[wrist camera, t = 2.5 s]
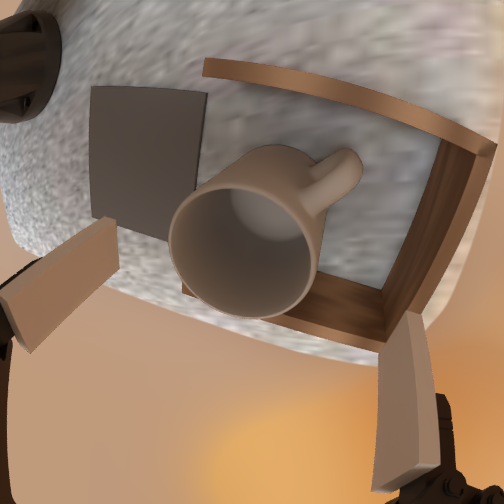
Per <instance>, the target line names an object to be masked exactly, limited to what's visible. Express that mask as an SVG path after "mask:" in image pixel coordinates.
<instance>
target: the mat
mask: <svg viewBox="0 0 504 504" xmlns="http://www.w3.org/2000/svg"><path fill="white" fill-rule="evenodd" d="M207 95H208V93H204V92H196V91H187V90H176V89H164V88H148V87H123V86H93V87H91V97H90V117H89V175H90V196H91V210H92V217H93V218H96V219H101V218H102V217H104V216H105V217H108V218H111V219H115V220H116V224H117V226H120V227H124V228H127V229H130V230H133V231H136V232H139V233H142V234H145V235H148V236H151V237H154V238H158V239H161V240H164V241H167V242H168V235H169V229H170V224H171V221H172V218H173V216H174V214H175V212H176V210H177V209H178V207H179V206H180V204H181V203H182V202H183V201H184V200H185V199H186V198H187V197H188V196H189V195H190V194H191V193H192V192H194V191H195V190H196V182H197V172H198V163H199V155H200V146H201V138H202V130H203V123H204V116H205V108H206V101H207Z"/></svg>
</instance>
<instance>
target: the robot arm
mask: <svg viewBox="0 0 504 504" xmlns="http://www.w3.org/2000/svg"><path fill="white" fill-rule="evenodd" d="M60 56H61V39H60V32H59V28H58V25H57V23H56V20H55V19H54V17H53V16H52V15H51V14H50V13H48V12H46V11H24V12H21V13H18V14H16V15H13V16H10V17H8V18H6V19H3V20H1V21H0V123H11V124H13V123H19V122H23V121H26V120H29V119H32V118H34V117H35V116H36V115H38V114H39V113H40V112H41V111H42V109H43V108H44V106H45V105H46V103H47V102H48V100H49V98H50V96H51V93H52V91H53V88H54V85H55V82H56V79H57V75H58V70H59V65H60ZM119 269H120V267H119V255H118V241H117V224H116V220H115V219H111V218H108V217H105V216H104V217H102V218H101V219H99V220H97V221H96V222H94V223H93V224H91V225H90V226H88V227H87V228H85V229H84V230H82V231H80V232H79V233H77V234H76V235H74V236H73V237H72V238H70V239H69V240H67V241H66V242H64V243H63V244H61V245H60V246H58V247H57V248H55V249H54V250H53V251H51V252H50V253H48V254H47V255H46V256H44V257H41V258H39V259H36V260H34V261H32V262H30V263H29V264H28V265H26V266H25V267H24V268H23V269H21V270H20V271H18V272H17V274H14V275H13V276H12V277H10V278H9V279H8V280H7V281H5V282H4V283H3V284H1V285H0V504H16V503H15V501H14V500H13V498H12V494H11V487H10V479H9V469H8V456H7V455H8V454H7V398H8V382H9V372H10V362H11V354H12V347H13V343H12V340H11V338H12V337H13V336H14V335H15V337H16V339H17V341H18V343H19V345H20V346H21V347H22V348H24V349H25V350H26V351H27V352H29V353H30V354H31V353H32V352H33V351H34V350H35V349H36V348H37V347H38V346H39V345H40V344H41V342H42V341H44V340H45V339H46V338H47V336H49V335H50V334H51V332H52V331H54V330H55V328H57V326H58V325H60V324H61V323H62V322H63V321H64V320H65V319H66V318H67V317H68V316H69V315H70V314H71V313H72V312H73V311H74V310H75V309H76V308H77V307H78V306H79V305H80V304H81V303H82V302H83V301H85V300H86V299H87V298H88V297H89V296H90V295H91V294H92V293H93V292H94V291H95V290H96V289H98V287H100V286H101V285H102V284H103V283H104V282H105V281H106V280H107V279H109V278H110V277H111V276H112V275H113V274H114V273H115V272H116V271H117V270H119ZM378 368H379V369H378V371H379V373H378V374H379V375H378V377H379V378H378V417H377V435H376V448H375V460H374V470H373V479H372V487H371V492H377V493H392V492H394V491H396V490H398V489H400V494H399V497H397V498H395V499H393V500H390V501H388V502H387V503H385V504H504V491H503V489H501V488H500V487H499V486H496V485H493V486H489V487H488V488H486V489H484V490H480V489H477V488H474V487H472V486H469V485H467V483H466V479H465V477H464V476H463V474H462V473H461V472H459V471H458V470H456V463H455V446H454V435H453V431H452V430H453V424H452V421H451V420H452V417H451V408H450V405H449V403H448V401H447V399H446V397H445V395H444V394H438V393H435V388H434V380H433V374H432V368H431V362H430V355H429V350H428V344H427V339H426V334H425V329H424V324H423V320H422V315H420V314H417V313H414V312H410V311H407V310H406V311H405V313H404V314H403V316H402V318H401V320H400V321H399V323H398V325H397V326H396V328H395V329H394V331H393V333H392V334H391V336H390V337H389V339H388V341H387V342H386V344H385V345H384V347H383V348H382V350H381V351H380V353H379V354H378Z"/></svg>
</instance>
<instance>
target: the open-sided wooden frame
mask: <svg viewBox="0 0 504 504" xmlns="http://www.w3.org/2000/svg"><path fill="white" fill-rule="evenodd" d="M202 76H203V77H212V78H221V79H229V80H236V81H243V82H250V83H256V84H262V85H267V86H273V87H278V88H283V89H288V90H293V91H297V92H302V93H306V94H310V95H315V96H319V97H323V98H326V99H330V100H334V101H338V102H341V103H345V104H348V105H352V106H355V107H358V108H362V109H365V110H368V111H371V112H374V113H377V114H380V115H383V116H386V117H389V118H392V119H395V120H397V121H400V122H403V123H406V124H408V125H411V126H413V127H416V128H419V129H421V130H424V131H426V132H428V133H431V134H433V135H436V136H438V137H440V138H442V139H441V143H440V146H439V149H438V153H437V156H436V159H435V162H434V165H433V168H432V171H431V174H430V177H429V180H428V183H427V185H426V188H425V191H424V194H423V196H422V199H421V202H420V204H419V207H418V209H417V212H416V215H415V217H414V220H413V222H412V225H411V227H410V229H409V232H408V234H407V236H406V239H405V241H404V243H403V246H402V248H401V250H400V253H399V255H398V257H397V259H396V261H395V264H394V266H393V268H392V270H391V272H390V274H389V276H388V278H387V280H386V282H385V285H384V287H383V289H382V290H378V289H375V288H372V287H368V286H365V285H362V284H358V283H355V282H352V281H348V280H345V279H342V278H338V277H335V276H332V275H328V274H325V273H322V272H318V271H317V272H316V275H315V278H314V281H313V284H312V286H311V288H310V289H309V291H308V293H307V294H306V295H305V297H304V298H303V299H302V300H301V301H300V302H299V303H298V304H297V305H296V306H295V307H293V308H292V309H290V310H289V311H287V312H285V313H283V314H280V315H277V316H274V317H270V318H265V319H261V320H264V321H267V322H270V323H273V324H277V325H280V326H283V327H286V328H290V329H293V330H296V331H300V332H303V333H307V334H310V335H313V336H317V337H320V338H324V339H328V340H331V341H335V342H338V343H342V344H346V345H350V346H353V347H357V348H361V349H365V350H369V351H373V352H377V353H380V351H381V350H382V348H383V347H384V345H385V344H386V342H387V341H388V339H389V337H390V336H391V334H392V333H393V331H394V329H395V328H396V326H397V325H398V323H399V321H400V320H401V318H402V316H403V314H404V313H405V311H406V310H407V311H410V312H414V313H417V314H420V315H421V313H422V311H423V310H424V308H425V306H426V305H427V303H428V301H429V300H430V298H431V296H432V295H433V293H434V291H435V289H436V287H437V286H438V284H439V282H440V280H441V278H442V277H443V275H444V273H445V271H446V269H447V267H448V265H449V263H450V261H451V259H452V257H453V255H454V253H455V251H456V249H457V247H458V245H459V243H460V241H461V239H462V237H463V235H464V232H465V230H466V228H467V226H468V224H469V221H470V219H471V217H472V214H473V212H474V210H475V207H476V205H477V202H478V200H479V197H480V195H481V192H482V189H483V187H484V184H485V181H486V178H487V176H488V173H489V170H490V167H491V164H492V161H493V158H494V155H495V151H496V148H497V145H498V144H496V143H494V142H493V141H491V140H489V139H487V138H485V137H483V136H481V135H480V134H478V133H476V132H474V131H472V130H470V129H468V128H466V127H464V126H462V125H460V124H458V123H455V122H453V121H451V120H449V119H447V118H445V117H442V116H440V115H438V114H435V113H433V112H431V111H428V110H426V109H424V108H421V107H419V106H416V105H413V104H411V103H408V102H406V101H403V100H400V99H397V98H395V97H392V96H389V95H386V94H383V93H380V92H377V91H374V90H371V89H368V88H365V87H361V86H358V85H354V84H351V83H347V82H344V81H340V80H336V79H333V78H329V77H325V76H320V75H316V74H312V73H307V72H303V71H298V70H293V69H288V68H282V67H277V66H271V65H265V64H258V63H251V62H244V61H235V60H226V59H216V58H205V61H204V67H203V73H202ZM182 293H184V294H186V295H189V296H192V297H195V298H197V297H196V296H195V295H194V294H193V293H192V292H191V291H190V290H189V289H188V288H187V287H186V285H185V284H184V283H183V282H182Z"/></svg>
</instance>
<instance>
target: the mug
mask: <svg viewBox="0 0 504 504" xmlns="http://www.w3.org/2000/svg"><path fill="white" fill-rule="evenodd" d="M362 173H363V165H362V162H361V160H360V158H359V156H358V155H357V153H356V152H354V151H353V150H351V149H348V148H344V149H341V150H339V151H337V152H335V153H333V154H332V155H330V156H328V157H327V158H325V159H324V160H322V161H321V162H319V163H318V164H316V163H315V162H314V161H313V160H312V159H311V158H310V157H308V156H307V155H306V154H304V153H302V152H301V151H299V150H297V149H294V148H291V147H288V146H283V145H268V146H263V147H259V148H256V149H254V150H252V151H250V152H248V153H247V154H245V155H244V156H243V157H241V158H240V159H239V160H237V161H236V162H235V163H233V164H232V165H230V166H229V167H227V168H226V169H225V170H223V171H222V172H220V173H219V174H217V175H216V176H215V177H213V178H212V179H210V180H209V181H208V182H206V183H205V184H203V185H202V186H201V187H199V188H198V189H196V190H195V191H194V192H192V193H191V194H190V195H189V196H188V197H187V198H186V199H185V200H184V201H183V202H182V203H181V204H180V206H179V207H178V209H177V210H176V212H175V214H174V216H173V218H172V221H171V224H170V229H169V235H168V244H169V252H170V256H171V260H172V262H173V265H174V268H175V270H176V272H177V274H178V275H179V277H180V279H181V280H182V282H183V283H184V284H185V285H186V287H187V288H188V289H189V290H190V291H191V292H192V293H193V294H194V295H195V296H196V297H197V298H198V299H200V300H201V301H202V302H204V303H205V304H207V305H208V306H210V307H211V308H213V309H215V310H217V311H219V312H222V313H224V314H227V315H230V316H233V317H238V318H244V319H265V318H270V317H274V316H277V315H280V314H283V313H285V312H287V311H289V310H290V309H292V308H293V307H295V306H296V305H297V304H298V303H299V302H300V301H301V300H302V299H303V298H304V297H305V295H306V294H307V293H308V291H309V289H310V288H311V286H312V284H313V281H314V278H315V275H316V272H317V267H318V261H319V255H320V249H321V244H322V238H323V232H324V225H325V219H326V214H327V210H328V207H329V206H331V205H332V204H334V203H335V202H337V201H338V200H340V199H341V198H342V197H344V196H345V195H346V194H348V193H349V192H350V191H351V190H352V189H353V188H354V187H355V186H356V185H357V184H358V182H359V181H360V179H361V176H362Z"/></svg>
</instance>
